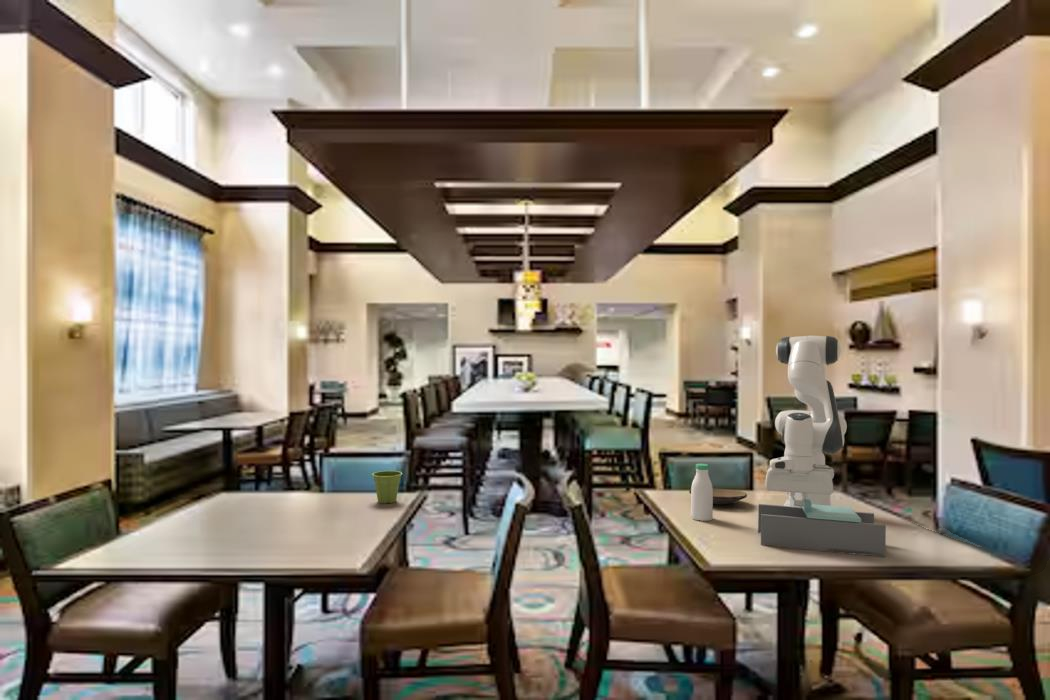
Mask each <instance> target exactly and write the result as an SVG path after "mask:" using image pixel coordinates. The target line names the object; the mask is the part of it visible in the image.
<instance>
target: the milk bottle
mask: <svg viewBox="0 0 1050 700" xmlns="http://www.w3.org/2000/svg"><path fill="white" fill-rule="evenodd" d="M709 468H710V466H709V464H707V463H695V471H696V473H695V475H694V476H695V478H694V479H692V483H691V488H690V490H691V494H690V518H691V519H692V518H693V519H692V520H695V521H699V520H700V521H701V522H702V521H703V522H708V521H712V519H713V518H714V517H713V516H714V515H713V514H714V513H713V512H714V511H713V510H714V508H713V507H714V504H713V484H712V483H713V482H712V481H711V478H710V475H709V471H710V470H709Z"/></svg>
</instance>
